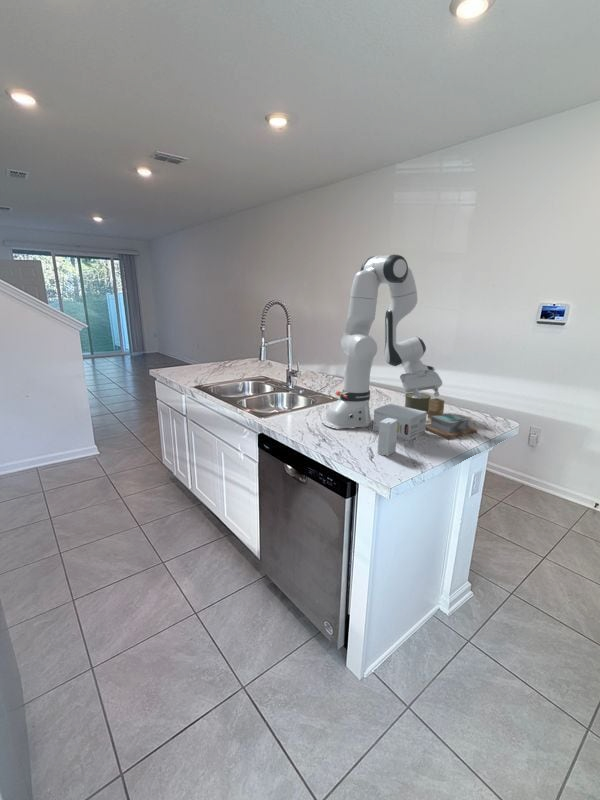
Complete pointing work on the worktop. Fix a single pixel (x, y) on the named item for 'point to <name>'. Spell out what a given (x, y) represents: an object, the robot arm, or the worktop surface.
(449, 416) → the build base
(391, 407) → the supplement box
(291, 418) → the worktop surface
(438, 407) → the oak pillar
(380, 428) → the skincare box
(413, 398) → the can
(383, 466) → the worktop surface
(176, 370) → the worktop surface
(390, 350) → the robot arm
